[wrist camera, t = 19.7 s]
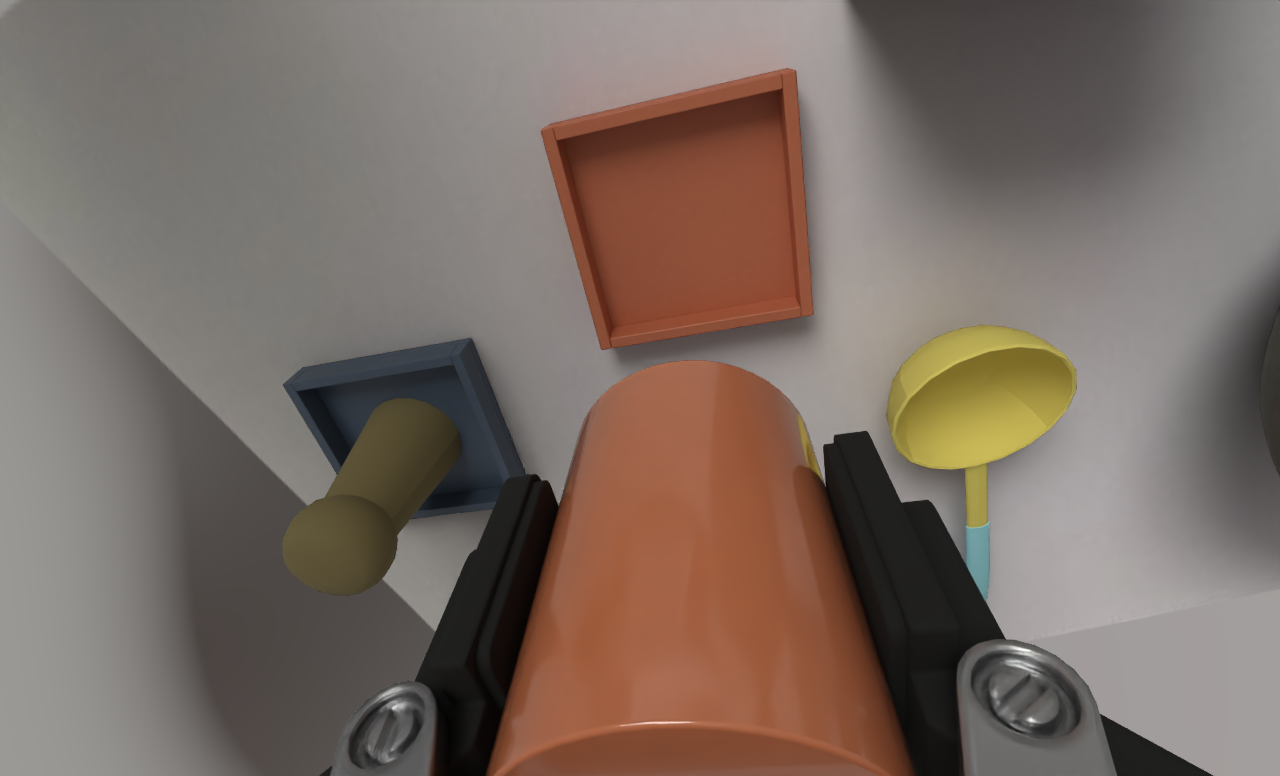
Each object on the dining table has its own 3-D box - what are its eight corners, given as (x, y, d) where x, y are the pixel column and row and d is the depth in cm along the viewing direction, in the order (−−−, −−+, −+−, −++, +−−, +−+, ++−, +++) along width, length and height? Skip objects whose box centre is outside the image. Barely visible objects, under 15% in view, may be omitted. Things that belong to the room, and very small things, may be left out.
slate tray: (380, 503, 41) (367, 524, 39) (302, 367, 36) (282, 384, 34) (530, 484, 39) (522, 505, 37) (471, 337, 34) (459, 354, 32)
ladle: (1037, 267, 29) (1113, 339, 24) (996, 543, 46) (1037, 613, 42) (856, 320, 30) (898, 395, 26) (883, 567, 47) (911, 637, 43)
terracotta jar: (607, 555, 14) (549, 936, 8) (548, 380, 12) (402, 739, 6) (818, 533, 13) (929, 940, 7) (802, 339, 11) (948, 709, 5)
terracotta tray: (605, 333, 33) (601, 350, 31) (549, 124, 28) (539, 129, 26) (806, 299, 31) (813, 315, 29) (788, 67, 26) (796, 69, 24)
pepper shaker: (374, 468, 39) (273, 606, 29) (361, 391, 35) (244, 518, 26) (463, 480, 39) (392, 621, 29) (459, 404, 35) (378, 536, 26)
